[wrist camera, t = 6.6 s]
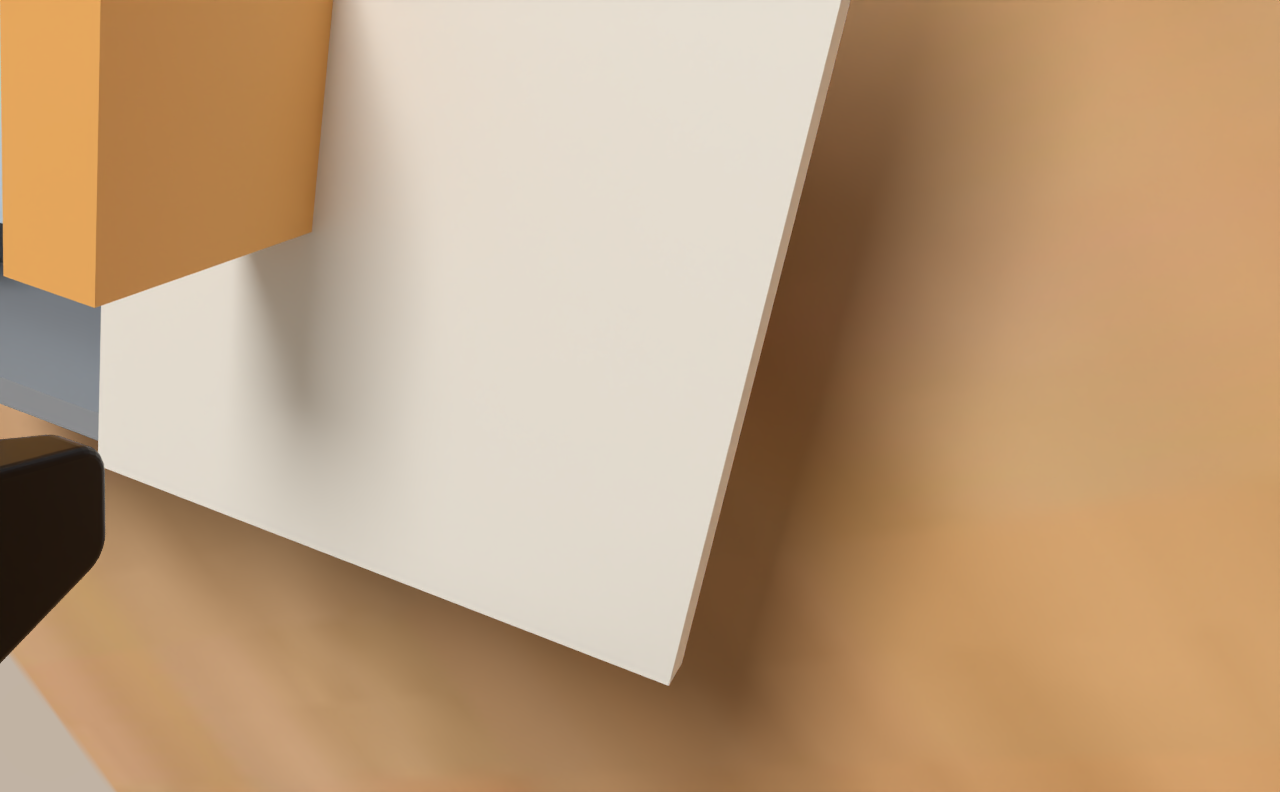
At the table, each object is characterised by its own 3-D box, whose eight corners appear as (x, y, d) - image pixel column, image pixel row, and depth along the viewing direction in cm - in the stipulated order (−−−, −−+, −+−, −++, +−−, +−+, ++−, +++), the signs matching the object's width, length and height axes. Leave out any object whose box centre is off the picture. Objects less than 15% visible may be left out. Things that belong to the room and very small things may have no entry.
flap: (682, 663, 17) (554, 880, 13) (124, 451, 20) (-130, 581, 16) (968, -462, 12) (900, -678, 8) (156, -575, 14) (-221, -788, 10)
